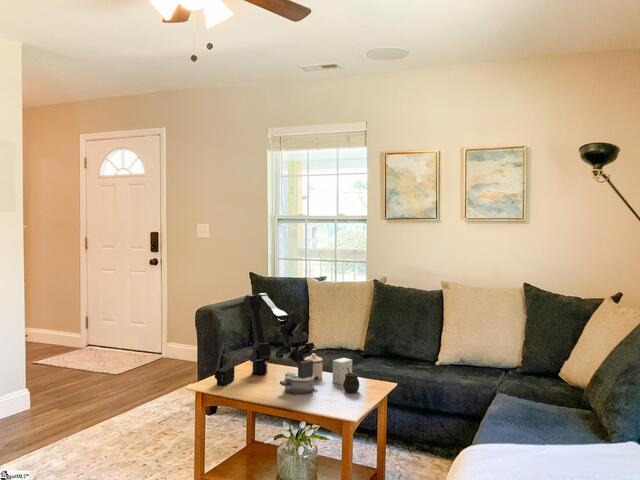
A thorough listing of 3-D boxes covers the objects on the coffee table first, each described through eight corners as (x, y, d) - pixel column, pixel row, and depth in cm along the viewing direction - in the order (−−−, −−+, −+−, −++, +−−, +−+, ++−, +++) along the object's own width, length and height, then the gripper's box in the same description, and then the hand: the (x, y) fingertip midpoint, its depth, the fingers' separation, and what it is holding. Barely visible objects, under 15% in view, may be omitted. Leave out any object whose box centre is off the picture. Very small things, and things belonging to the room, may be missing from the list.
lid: (279, 376, 246) (279, 358, 245) (302, 371, 254) (302, 354, 254) (296, 383, 235) (297, 364, 235) (320, 378, 244) (320, 360, 243)
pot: (273, 390, 244) (274, 378, 244) (306, 382, 256) (307, 371, 256) (291, 397, 234) (291, 385, 234) (324, 389, 246) (324, 377, 246)
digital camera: (223, 379, 260) (223, 364, 260) (234, 380, 258) (234, 365, 258) (214, 385, 250) (214, 370, 249) (225, 386, 248) (225, 371, 248)
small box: (343, 379, 263) (344, 357, 263) (352, 381, 259) (352, 359, 259) (332, 382, 258) (332, 360, 257) (340, 384, 254) (341, 362, 253)
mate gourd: (350, 395, 239) (350, 372, 238) (339, 391, 245) (339, 369, 244) (362, 392, 243) (362, 370, 243) (351, 388, 249) (351, 366, 249)
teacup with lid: (326, 377, 266) (326, 353, 266) (315, 381, 258) (315, 357, 258) (306, 372, 273) (306, 349, 272) (295, 377, 265) (295, 353, 265)
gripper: (279, 329, 240) (293, 359, 232) (312, 324, 252) (327, 353, 244) (269, 343, 247) (282, 373, 239) (302, 338, 259) (316, 366, 250)
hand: (303, 366), depth 243 cm, fingers closed, pressing on lid
